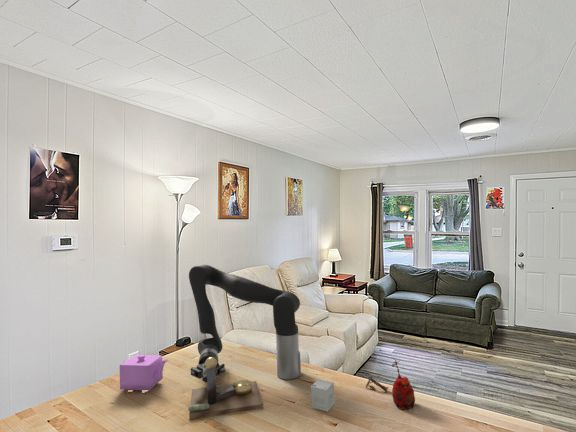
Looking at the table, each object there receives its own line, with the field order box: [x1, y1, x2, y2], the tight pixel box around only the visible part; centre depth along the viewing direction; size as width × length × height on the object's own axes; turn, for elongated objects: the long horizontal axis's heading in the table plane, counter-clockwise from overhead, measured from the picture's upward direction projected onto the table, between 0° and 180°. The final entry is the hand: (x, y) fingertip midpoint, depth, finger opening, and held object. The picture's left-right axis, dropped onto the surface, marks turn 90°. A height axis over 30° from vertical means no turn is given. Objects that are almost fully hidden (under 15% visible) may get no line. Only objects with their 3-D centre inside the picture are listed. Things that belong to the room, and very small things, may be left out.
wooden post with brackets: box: [365, 376, 389, 394], centre depth 128 cm, size 2×8×4 cm, turn 62°
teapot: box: [119, 354, 170, 391], centre depth 135 cm, size 20×10×12 cm, turn 82°
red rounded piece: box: [391, 358, 416, 411], centre depth 116 cm, size 8×7×15 cm
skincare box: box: [310, 379, 336, 413], centre depth 118 cm, size 6×6×7 cm
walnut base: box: [188, 380, 264, 420], centre depth 123 cm, size 24×18×3 cm
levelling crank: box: [205, 357, 252, 404], centre depth 123 cm, size 18×7×15 cm, turn 129°
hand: (206, 379), depth 120 cm, fingers closed
